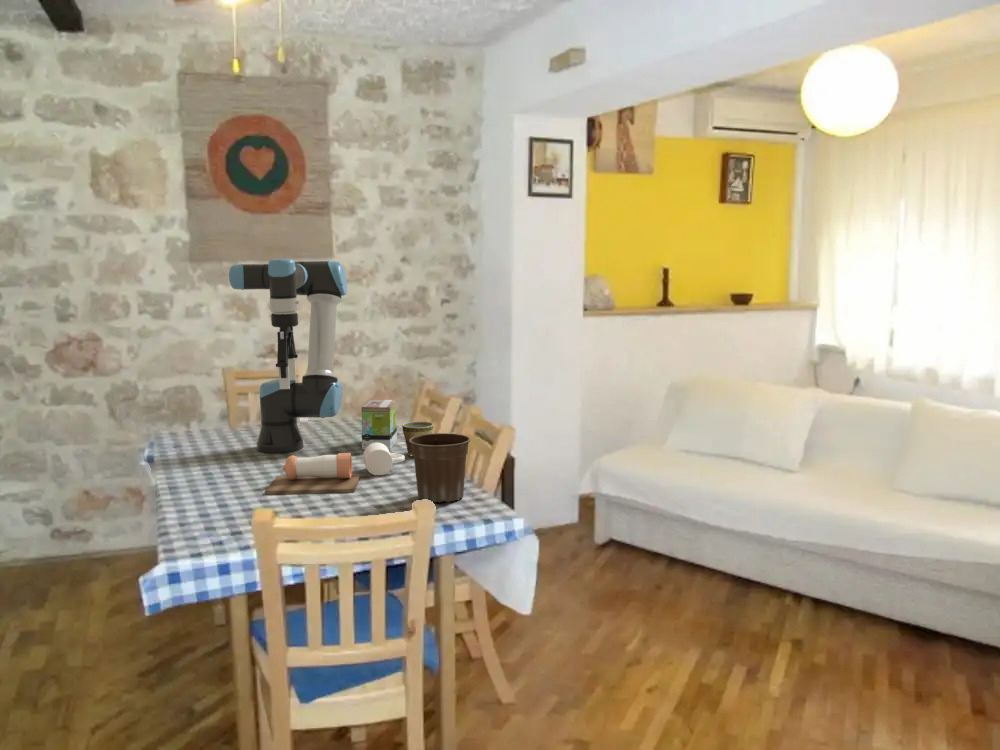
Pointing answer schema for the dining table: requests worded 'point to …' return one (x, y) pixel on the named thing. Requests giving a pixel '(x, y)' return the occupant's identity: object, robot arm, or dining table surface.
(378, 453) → the mug
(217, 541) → the dining table surface
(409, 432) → the ceramic cup
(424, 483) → the plant pot
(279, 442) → the robot arm
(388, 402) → the tea box
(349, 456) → the pepper shaker
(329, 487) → the walnut board
